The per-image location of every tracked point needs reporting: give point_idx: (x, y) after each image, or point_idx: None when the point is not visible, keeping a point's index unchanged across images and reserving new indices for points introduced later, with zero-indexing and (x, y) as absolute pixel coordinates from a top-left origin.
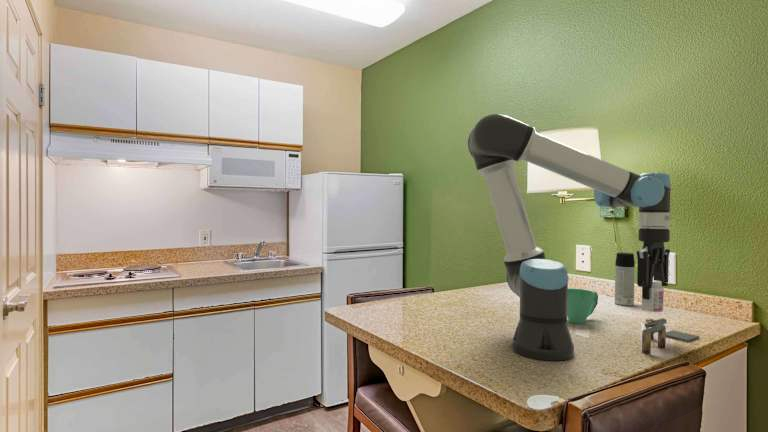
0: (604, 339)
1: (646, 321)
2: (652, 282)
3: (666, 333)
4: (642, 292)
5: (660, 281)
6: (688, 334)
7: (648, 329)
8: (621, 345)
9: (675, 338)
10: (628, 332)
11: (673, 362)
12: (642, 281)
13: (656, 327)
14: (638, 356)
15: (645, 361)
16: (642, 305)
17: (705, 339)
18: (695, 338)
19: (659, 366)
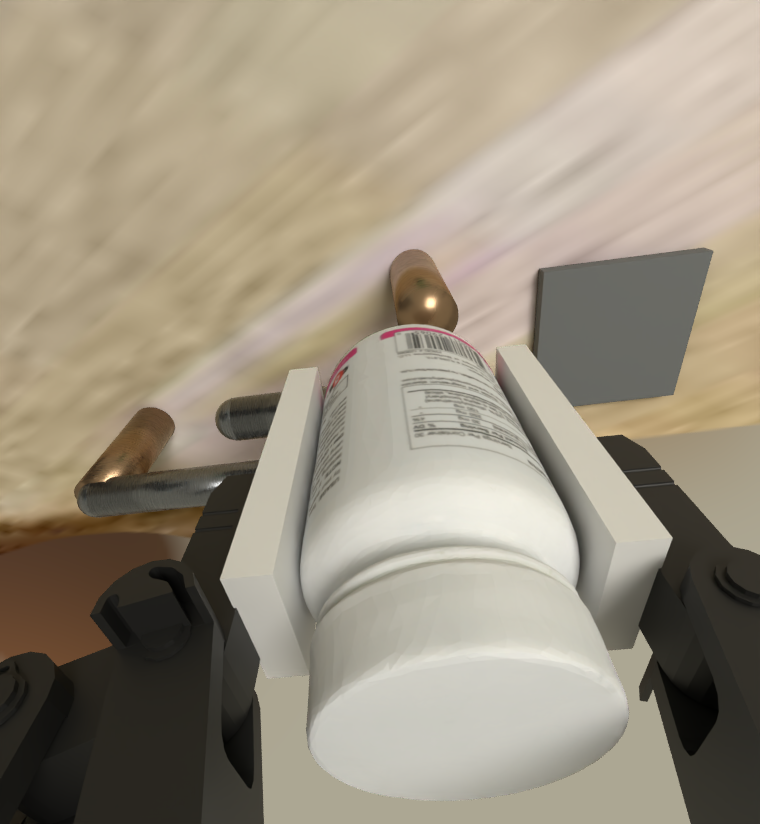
0: (72, 143)
1: (398, 300)
2: (325, 764)
3: (582, 283)
4: (188, 546)
5: (537, 782)
6: (667, 353)
7: (99, 516)
8: (108, 294)
9: (534, 351)
10: (421, 87)
11: (177, 521)
12: (109, 747)
13: (195, 505)
14: (77, 437)
15: (63, 481)
16: (284, 398)
17: (666, 411)
18: (624, 396)
19: (82, 526)
